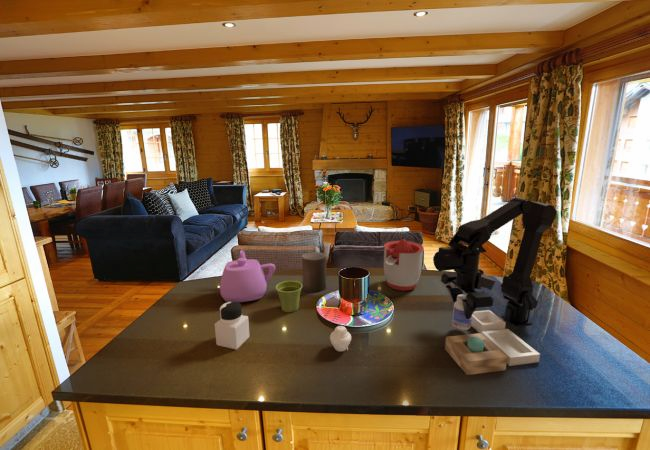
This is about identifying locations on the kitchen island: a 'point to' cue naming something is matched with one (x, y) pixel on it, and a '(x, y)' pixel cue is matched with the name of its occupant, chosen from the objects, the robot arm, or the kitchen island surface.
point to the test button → (475, 344)
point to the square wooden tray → (475, 355)
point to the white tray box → (486, 321)
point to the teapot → (244, 280)
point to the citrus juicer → (402, 264)
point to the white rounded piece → (340, 338)
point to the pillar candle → (314, 271)
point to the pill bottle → (460, 315)
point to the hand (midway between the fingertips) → (462, 313)
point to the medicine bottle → (232, 326)
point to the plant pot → (289, 295)
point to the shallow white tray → (512, 347)
